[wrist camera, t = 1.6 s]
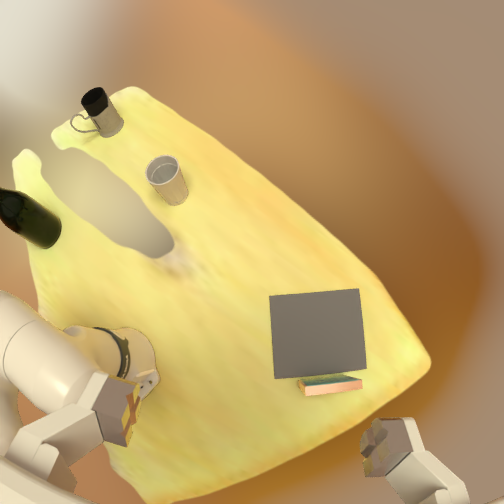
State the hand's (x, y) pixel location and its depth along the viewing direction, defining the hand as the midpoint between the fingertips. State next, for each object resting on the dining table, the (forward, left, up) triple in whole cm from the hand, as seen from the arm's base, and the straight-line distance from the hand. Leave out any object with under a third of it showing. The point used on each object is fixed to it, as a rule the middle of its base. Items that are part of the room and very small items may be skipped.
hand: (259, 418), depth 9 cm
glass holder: (+31, +76, -58) cm, 101 cm away
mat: (+10, -6, -58) cm, 59 cm away
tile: (+2, -12, -58) cm, 59 cm away
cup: (+23, +40, -58) cm, 74 cm away
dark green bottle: (-4, +70, -58) cm, 91 cm away
